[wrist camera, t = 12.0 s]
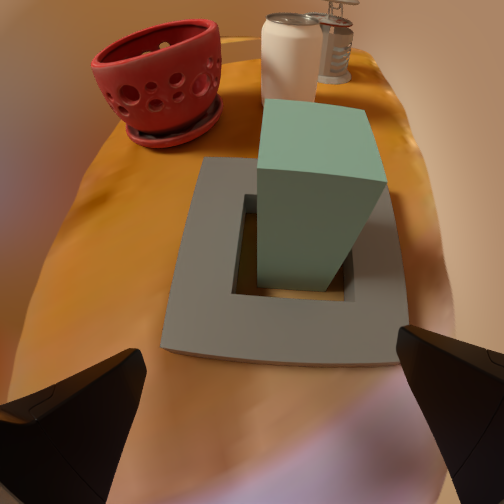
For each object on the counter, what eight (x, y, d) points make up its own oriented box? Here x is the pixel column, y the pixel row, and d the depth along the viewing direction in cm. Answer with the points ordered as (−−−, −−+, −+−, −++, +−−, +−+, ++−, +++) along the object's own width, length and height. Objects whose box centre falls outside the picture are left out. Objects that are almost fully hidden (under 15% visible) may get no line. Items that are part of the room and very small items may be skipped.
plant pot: (221, 89, 34) (214, 11, 23) (234, 147, 28) (225, 40, 17) (129, 108, 33) (106, 36, 22) (114, 172, 27) (71, 80, 16)
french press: (281, 73, 36) (286, -75, 14) (304, 52, 41) (312, -66, 18) (345, 90, 34) (370, -64, 12) (357, 66, 38) (377, -55, 16)
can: (301, 91, 33) (309, 12, 23) (321, 116, 30) (335, 27, 20) (255, 95, 33) (254, 12, 22) (270, 121, 30) (272, 25, 19)
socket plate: (394, 365, 17) (410, 360, 15) (171, 352, 18) (159, 347, 16) (375, 190, 25) (383, 172, 23) (207, 175, 26) (204, 156, 23)
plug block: (324, 291, 20) (387, 182, 10) (257, 287, 21) (256, 168, 10) (323, 233, 23) (364, 110, 12) (262, 229, 23) (265, 98, 12)
